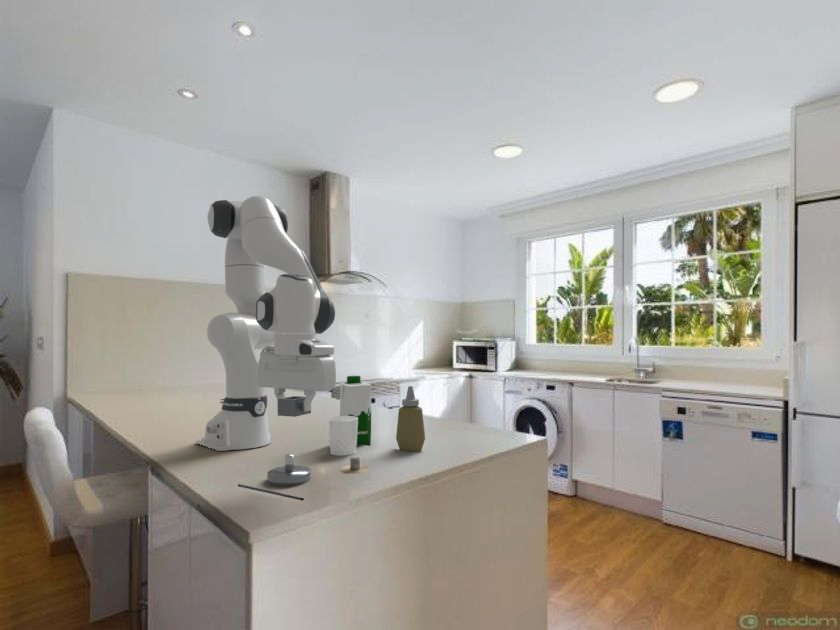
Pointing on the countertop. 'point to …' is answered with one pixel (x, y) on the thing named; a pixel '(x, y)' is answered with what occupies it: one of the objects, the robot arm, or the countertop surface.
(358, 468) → the stand
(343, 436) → the white cup
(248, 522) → the countertop surface
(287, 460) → the grey plate with knob
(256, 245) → the robot arm
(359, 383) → the milk carton
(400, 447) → the squeeze bottle
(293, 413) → the square hollow frame
